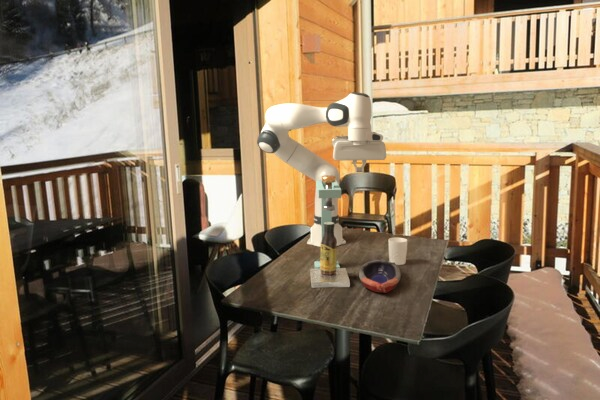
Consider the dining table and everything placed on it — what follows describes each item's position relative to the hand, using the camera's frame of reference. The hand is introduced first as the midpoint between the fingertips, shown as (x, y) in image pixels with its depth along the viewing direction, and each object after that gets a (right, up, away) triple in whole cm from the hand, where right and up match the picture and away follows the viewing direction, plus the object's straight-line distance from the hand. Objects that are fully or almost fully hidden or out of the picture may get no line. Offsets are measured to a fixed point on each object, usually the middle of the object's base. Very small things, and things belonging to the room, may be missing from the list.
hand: (359, 171), depth 193 cm
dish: (+7, -42, -5) cm, 43 cm away
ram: (-12, -14, -7) cm, 20 cm away
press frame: (-12, -40, +4) cm, 42 cm away
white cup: (+18, -38, +18) cm, 45 cm away
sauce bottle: (-12, -39, 0) cm, 41 cm away
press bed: (-12, -41, -2) cm, 43 cm away
